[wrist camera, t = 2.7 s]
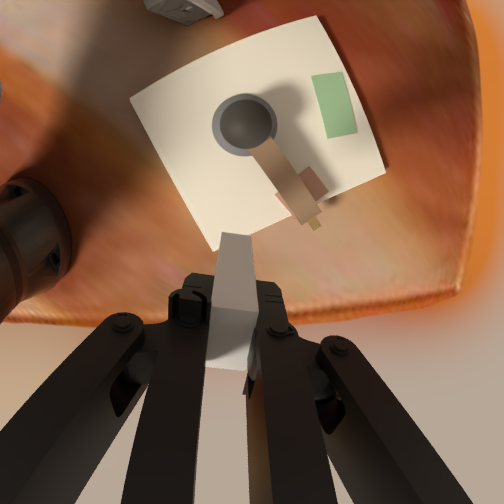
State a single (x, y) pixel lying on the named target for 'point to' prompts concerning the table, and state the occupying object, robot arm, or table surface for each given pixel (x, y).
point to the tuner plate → (283, 129)
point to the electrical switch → (185, 9)
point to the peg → (268, 155)
